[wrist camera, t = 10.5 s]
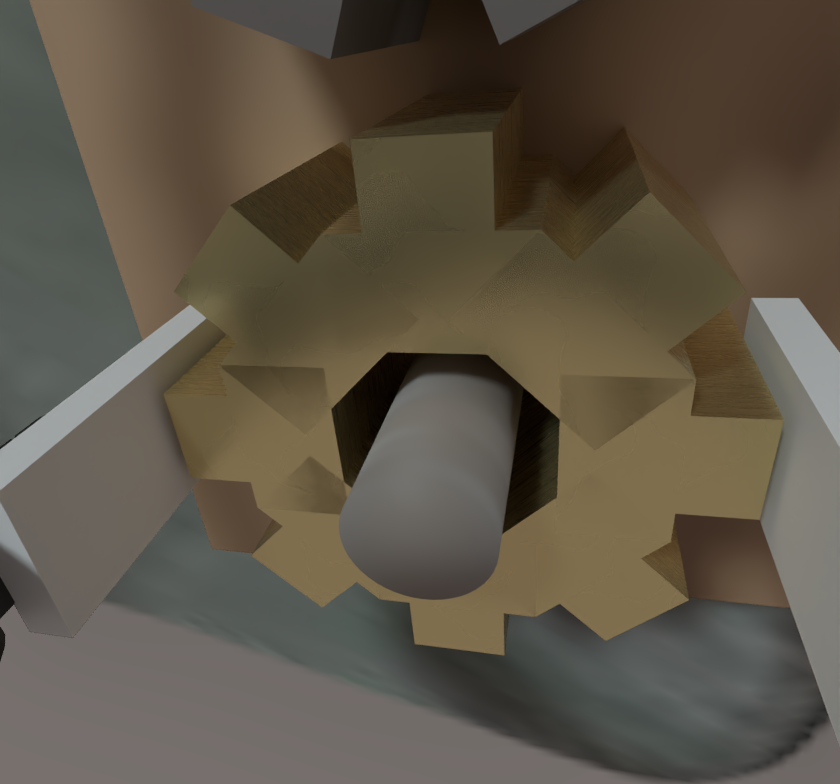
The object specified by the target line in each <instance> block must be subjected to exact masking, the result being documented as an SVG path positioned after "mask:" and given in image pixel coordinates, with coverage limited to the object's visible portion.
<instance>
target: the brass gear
mask: <svg viewBox="0 0 840 784" xmlns="http://www.w3.org/2000/svg"><path fill="white" fill-rule="evenodd" d="M350 146H351V149H350V148H349V147H348V146H347V145H345V144H344V143H343V142H340V143H338V144H336V145H335V146H333V147H331V148H329V149H328V150H326V151H324V152H322V153H321V154H319V155H317V156H315V157H314V158H312V159H310V160H308V161H307V162H305V163H303V164H301V165H299V166H298V167H296V168H294V169H292V170H291V171H289V172H287V173H285V174H284V175H282V176H280V177H278V178H277V179H275V180H273V181H271V182H270V183H268V184H266V185H264V186H263V187H261V188H259V189H257V190H256V191H254V192H252V193H250V194H249V195H247V196H245V197H243V198H242V199H240V200H238V201H236V202H234V203H233V204H231V205H230V206H229V207H228V209H227V210H226V212H225V213H224V215H223V216H222V218H221V219H220V221H219V222H218V224H217V226H216V227H215V229H214V230H213V232H212V233H211V235H210V236H209V238H208V239H207V241H206V242H205V244H204V245H203V247H202V249H201V250H200V252H199V253H198V255H197V256H196V258H195V259H194V261H193V262H192V264H191V265H190V267H189V268H188V270H187V272H186V273H185V275H184V276H183V278H182V279H181V281H180V282H179V284H178V285H177V287H176V288H175V290H174V292H175V293H176V294H177V295H178V296H180V297H181V298H182V299H183V300H185V301H186V302H187V303H188V304H190V305H191V306H192V307H193V308H195V309H196V310H197V311H198V312H199V313H201V314H202V315H203V316H204V317H206V318H207V319H208V320H209V321H211V322H212V323H213V324H214V325H216V326H217V327H218V328H219V329H221V330H222V331H223V332H224V333H225V334H227V335H226V336H225V337H224V338H223V339H222V340H221V341H220V342H219V343H218V344H217V345H215V346H214V347H213V348H212V349H211V350H210V351H209V352H208V353H207V354H206V355H205V356H204V357H203V358H202V359H200V360H199V361H198V362H197V363H196V364H195V365H194V366H193V367H192V368H191V369H190V370H189V371H188V372H187V373H185V374H184V375H183V376H182V377H181V378H180V379H179V380H178V381H177V382H176V383H175V384H174V385H173V386H172V387H170V388H169V389H168V390H167V391H166V392H165V393H164V397H165V400H166V403H167V406H168V409H169V412H170V415H171V418H172V421H173V424H174V427H175V430H176V433H177V437H178V440H179V443H180V446H181V449H182V452H183V455H184V458H185V461H186V464H187V467H188V470H189V473H190V476H191V478H200V479H213V480H227V481H240V482H251V485H252V489H253V492H254V496H255V500H256V503H257V507H258V508H259V509H260V510H262V511H263V512H264V513H266V514H267V515H268V516H270V517H271V518H272V521H271V523H270V524H269V526H268V528H267V530H266V531H265V533H264V535H263V536H262V538H261V540H260V541H259V543H258V545H257V546H256V548H255V550H254V551H253V553H252V555H251V556H252V557H254V558H255V559H257V560H258V561H259V562H261V563H262V564H263V565H265V566H266V567H268V568H269V569H270V570H272V571H273V572H274V573H276V574H277V575H278V576H280V577H281V578H283V579H284V580H285V581H287V582H288V583H289V584H291V585H292V586H294V587H295V588H296V589H298V590H299V591H300V592H302V593H303V594H305V595H306V596H307V597H309V598H310V599H311V600H313V601H314V602H315V603H317V604H318V605H320V606H321V607H323V606H325V605H326V604H328V603H329V602H330V601H332V600H333V599H334V598H336V597H337V596H338V595H340V594H341V593H342V592H344V591H345V590H346V589H348V588H349V587H350V586H352V585H353V584H354V583H356V582H358V583H359V584H360V585H362V586H363V587H364V588H366V589H367V590H368V591H370V592H371V593H372V594H374V595H375V596H376V597H378V598H379V599H380V600H390V601H399V602H408V603H410V610H411V618H412V625H413V633H414V641H415V644H419V645H427V646H434V647H442V648H450V649H458V650H466V651H474V652H482V653H489V654H497V655H505V646H506V638H507V629H508V620H509V614H514V615H523V616H532V617H536V616H538V615H540V614H542V613H544V612H545V611H547V610H549V609H551V608H553V607H554V606H556V605H558V604H561V605H562V606H563V607H564V608H566V609H567V610H568V611H569V612H571V613H572V614H573V615H574V616H576V617H577V618H578V619H579V620H581V621H582V622H583V623H584V624H585V625H587V626H588V627H589V628H590V629H592V630H593V631H594V632H595V633H597V634H598V635H599V636H600V637H602V638H603V639H604V640H605V641H607V640H609V639H611V638H613V637H615V636H617V635H619V634H621V633H623V632H625V631H627V630H629V629H631V628H633V627H635V626H637V625H639V624H641V623H643V622H645V621H647V620H649V619H651V618H654V617H656V616H658V615H660V614H662V613H664V612H666V611H668V610H670V609H672V608H674V607H676V606H678V605H680V604H682V603H684V602H686V601H688V600H689V596H688V591H687V586H686V580H685V575H684V570H683V564H682V559H681V553H680V548H679V543H678V537H677V532H676V527H675V521H674V518H675V514H687V515H700V516H714V517H728V518H741V519H755V520H760V516H761V512H762V508H763V504H764V500H765V496H766V492H767V488H768V484H769V480H770V476H771V472H772V468H773V464H774V459H775V455H776V451H777V447H778V443H779V439H780V435H781V431H782V427H783V423H784V419H783V417H782V415H781V413H780V411H779V409H778V407H777V405H776V403H775V400H774V398H773V396H772V394H771V392H770V390H769V388H768V386H767V384H766V382H765V380H764V378H763V376H762V374H761V372H760V370H759V368H758V366H757V364H756V362H755V360H754V358H753V356H752V354H751V352H750V350H749V348H748V346H747V344H746V342H745V340H744V338H743V336H742V334H741V332H740V330H739V328H738V326H737V324H736V322H735V320H734V318H733V316H732V314H731V312H730V310H729V308H728V306H729V305H731V304H732V303H733V302H735V301H736V300H737V299H739V298H740V297H741V296H743V295H744V294H746V293H747V291H746V290H745V288H744V286H743V285H742V283H741V281H740V280H739V278H738V276H737V275H736V273H735V271H734V269H733V268H732V266H731V264H730V263H729V261H728V259H727V258H726V256H725V254H724V253H723V251H722V249H721V247H720V246H719V244H718V242H717V241H716V239H715V237H714V236H713V234H712V232H711V231H710V229H709V227H708V225H707V224H706V222H705V220H704V219H703V217H702V215H701V214H700V212H699V210H698V209H697V207H696V205H695V203H694V202H693V200H692V198H691V197H690V195H689V194H688V193H687V192H686V190H685V189H684V188H683V187H682V186H681V185H680V184H679V183H678V182H677V181H676V180H675V179H674V178H673V177H672V176H671V175H670V174H669V173H668V172H667V170H666V169H665V168H664V167H663V166H662V165H661V164H660V163H659V162H658V161H657V160H656V159H655V158H654V157H653V156H652V155H651V154H650V153H649V152H648V151H647V149H646V148H645V147H644V146H643V145H642V144H641V143H640V142H639V141H638V140H637V139H636V138H635V137H634V136H633V135H632V134H631V133H630V132H629V131H628V129H627V128H626V127H625V126H624V127H623V128H622V129H621V130H620V131H619V132H618V133H617V134H616V135H615V136H614V137H613V138H612V139H611V140H610V141H609V142H608V143H607V144H606V145H605V146H604V147H603V148H602V149H601V150H600V151H599V152H598V153H597V154H596V155H595V156H594V157H593V158H592V159H591V160H590V161H589V162H588V163H587V164H586V165H585V166H584V167H583V168H582V169H581V170H580V171H579V172H578V173H577V174H576V175H574V174H573V173H572V172H571V171H570V170H569V169H568V168H567V167H566V166H565V165H564V164H563V163H562V162H561V160H560V159H559V158H558V157H557V156H556V155H555V154H539V155H523V87H521V88H507V89H492V90H477V91H463V92H448V93H434V94H427V95H425V96H424V97H422V98H420V99H418V100H417V101H415V102H413V103H411V104H410V105H408V106H406V107H405V108H403V109H401V110H399V111H398V112H396V113H394V114H392V115H391V116H389V117H387V118H386V119H384V120H382V121H380V122H379V123H377V124H375V125H374V126H372V127H370V128H368V129H367V130H365V131H363V132H361V133H360V134H358V135H356V136H355V137H353V138H351V139H350ZM411 353H443V354H486V355H488V356H489V357H490V358H491V359H492V360H494V361H495V362H496V363H497V364H498V365H499V366H500V367H501V368H503V369H504V370H505V371H506V372H507V373H508V374H509V375H510V376H512V377H513V378H514V379H515V380H516V381H517V382H518V383H519V384H521V385H522V386H523V387H524V389H523V396H522V403H521V410H520V417H519V423H518V430H517V437H516V444H515V450H514V457H513V464H512V471H511V477H510V484H509V491H508V498H507V504H506V511H505V518H504V525H503V531H502V538H501V545H500V552H499V558H498V562H497V566H496V568H495V570H494V572H493V574H492V575H491V576H490V578H489V579H488V580H487V581H486V582H485V583H484V584H483V585H482V586H480V587H479V588H478V589H476V590H474V591H472V592H471V593H468V594H466V595H463V596H460V597H456V598H452V599H444V600H427V599H419V598H413V597H409V596H405V595H402V594H399V593H396V592H393V591H391V590H389V589H387V588H385V587H383V586H381V585H379V584H377V583H376V582H374V581H373V580H372V579H370V578H369V577H367V576H366V575H365V574H364V573H363V572H361V570H360V569H359V568H358V567H357V566H356V565H355V564H354V563H353V562H352V560H351V559H350V558H349V556H348V554H347V553H346V551H345V549H344V547H343V544H342V542H341V538H340V534H339V518H340V514H341V511H342V509H343V506H344V504H345V502H346V500H347V498H348V496H349V494H350V491H351V489H352V487H353V485H354V483H355V481H356V479H357V477H358V475H359V472H360V470H361V468H362V466H363V464H364V462H365V460H366V458H367V456H368V453H369V451H370V449H371V447H372V445H373V443H374V441H375V439H376V437H377V435H378V432H379V430H380V428H381V426H382V424H383V422H384V420H385V418H386V416H387V413H388V411H389V409H390V407H391V405H392V403H393V401H394V399H395V397H396V395H397V392H398V390H399V388H400V386H401V384H402V382H403V380H404V378H405V376H406V373H407V371H408V369H409V367H410V365H411V363H412V361H413V359H414V356H413V355H412V354H411Z"/></svg>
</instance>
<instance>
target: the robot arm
mask: <svg viewBox="0 0 840 784" xmlns="http://www.w3.org/2000/svg"><path fill="white" fill-rule="evenodd" d="M226 335H227V334H225V333H224V332H223V331H222V330H221V329H219V328H218V327H217V326H216V325H214V324H213V323H212V322H211V321H209V320H208V319H207V318H206V317H204V316H203V315H202V314H201V313H199V312H198V311H197V310H196V309H195V308H193V307H192V306H191V305H189V306H188V307H186V308H185V309H184V310H182V311H181V312H180V313H178V314H177V315H176V316H174V317H173V318H172V319H170V320H169V321H168V322H167V323H165V324H164V325H163V326H161V327H160V328H159V329H157V330H156V331H155V332H153V333H152V334H151V335H150V336H148V337H147V338H146V339H144V340H143V341H142V342H140V343H139V344H138V345H136V346H135V347H134V348H132V349H131V350H130V351H129V352H127V353H126V354H125V355H123V356H122V357H121V358H119V359H118V360H117V361H115V362H114V363H113V364H111V365H110V366H109V367H108V368H106V369H105V370H104V371H102V372H101V373H100V374H98V375H97V376H96V377H94V378H93V379H92V380H91V381H89V382H88V383H87V384H85V385H84V386H83V387H81V388H80V389H79V390H77V391H76V392H75V393H73V394H72V395H71V396H70V397H68V398H67V399H66V400H64V401H63V402H62V403H60V404H59V405H58V406H56V407H55V408H54V409H52V410H51V411H50V412H49V413H47V414H46V415H44V416H42V417H40V418H38V419H37V420H35V421H34V422H33V423H31V424H30V425H29V426H27V427H26V428H25V429H23V430H22V431H21V432H19V433H18V434H17V435H15V438H14V439H10V440H9V441H8V442H6V443H5V444H4V445H2V446H1V447H0V618H1V617H2V616H3V615H4V614H5V613H6V612H7V611H8V610H9V609H10V608H11V607H12V606H13V605H15V607H16V609H17V610H18V612H19V614H20V615H21V617H22V619H23V621H24V622H25V624H26V626H27V628H28V629H29V631H30V632H34V633H42V634H49V635H55V636H63V637H69V638H73V637H74V636H75V635H76V633H77V632H78V631H79V629H80V628H81V627H82V626H83V624H84V623H85V622H86V621H87V620H88V618H89V617H90V616H91V615H92V613H93V612H94V611H95V610H96V608H97V607H98V606H99V605H100V604H101V602H102V601H103V600H104V599H105V597H106V596H107V595H108V594H109V592H110V591H111V590H112V589H113V587H114V586H115V585H116V584H117V582H118V581H119V580H120V579H121V577H122V576H123V575H124V574H125V572H126V571H127V570H128V569H129V567H130V566H131V565H132V564H133V562H134V561H135V560H136V559H137V557H138V556H139V555H140V554H141V553H142V551H143V550H144V549H145V548H146V546H147V545H148V544H149V543H150V541H151V540H152V539H153V538H154V536H155V535H156V534H157V533H158V531H159V530H160V529H161V528H162V526H163V525H164V524H165V523H166V521H167V520H168V519H169V518H170V516H171V515H172V514H173V513H174V511H175V510H176V509H177V508H178V506H179V505H180V504H181V503H182V501H183V500H184V499H185V498H186V497H187V495H188V494H189V493H190V492H191V490H192V489H193V488H194V487H195V485H196V484H197V483H198V482H199V480H200V478H191V476H190V473H189V470H188V467H187V464H186V461H185V458H184V455H183V452H182V449H181V446H180V443H179V440H178V437H177V433H176V430H175V427H174V424H173V421H172V418H171V415H170V412H169V409H168V406H167V403H166V400H165V397H164V393H165V392H166V391H167V390H168V389H169V388H170V387H172V386H173V385H174V384H175V383H176V382H177V381H178V380H179V379H180V378H181V377H182V376H183V375H184V374H185V373H187V372H188V371H189V370H190V369H191V368H192V367H193V366H194V365H195V364H196V363H197V362H198V361H199V360H200V359H202V358H203V357H204V356H205V355H206V354H207V353H208V352H209V351H210V350H211V349H212V348H213V347H214V346H215V345H217V344H218V343H219V342H220V341H221V340H222V339H223V338H224V337H225V336H226ZM744 340H745V342H746V344H747V346H748V348H749V350H750V352H751V354H752V356H753V358H754V360H755V362H756V364H757V366H758V368H759V370H760V372H761V374H762V376H763V378H764V380H765V382H766V384H767V386H768V388H769V390H770V392H771V394H772V396H773V398H774V400H775V403H776V405H777V407H778V409H779V411H780V413H781V415H782V417H783V419H784V423H783V427H782V431H781V435H780V439H779V443H778V447H777V451H776V455H775V459H774V464H773V468H772V472H771V476H770V480H769V484H768V488H767V492H766V496H765V500H764V504H763V508H762V512H761V516H760V522H761V525H762V528H763V531H764V534H765V537H766V539H767V542H768V545H769V548H770V551H771V554H772V557H773V559H774V562H775V565H776V568H777V571H778V574H779V576H780V579H781V582H782V585H783V588H784V591H785V593H786V596H787V599H788V602H789V605H790V608H791V610H792V613H793V616H794V619H795V622H796V625H797V628H798V630H799V633H800V636H801V639H802V642H803V645H804V647H805V650H806V653H807V656H808V659H809V662H810V664H811V667H812V670H813V673H814V676H815V679H816V682H817V684H818V687H819V690H820V693H821V696H822V699H823V701H824V704H825V707H826V710H827V713H828V716H829V718H830V721H831V724H832V727H833V730H834V733H835V735H836V738H837V741H838V744H839V747H840V352H839V351H838V350H837V348H836V347H835V346H834V345H833V343H832V342H831V341H830V339H829V338H828V337H827V335H826V334H825V333H824V331H823V330H822V329H821V327H820V326H819V325H818V323H817V322H816V321H815V319H814V318H813V317H812V315H811V314H810V313H809V311H808V310H807V309H806V307H805V306H804V305H803V303H802V302H801V301H800V299H799V298H751V302H750V307H749V312H748V317H747V322H746V328H745V333H744ZM4 647H5V634H4V632H3V630H2V629H1V627H0V661H1V657H2V654H3V651H4Z"/></svg>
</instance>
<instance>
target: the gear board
mask: <svg viewBox="0 0 840 784" xmlns="http://www.w3.org/2000/svg"><path fill="white" fill-rule="evenodd" d="M29 1H30V4H31V7H32V10H33V13H34V16H35V19H36V22H37V25H38V28H39V31H40V34H41V37H42V40H43V43H44V46H45V49H46V52H47V55H48V58H49V61H50V64H51V67H52V70H53V73H54V76H55V79H56V82H57V85H58V88H59V91H60V94H61V97H62V100H63V103H64V106H65V109H66V112H67V115H68V118H69V121H70V124H71V127H72V130H73V133H74V136H75V139H76V142H77V145H78V148H79V151H80V154H81V157H82V160H83V163H84V166H85V169H86V172H87V175H88V178H89V181H90V184H91V187H92V190H93V193H94V196H95V199H96V202H97V205H98V208H99V211H100V214H101V217H102V220H103V223H104V226H105V229H106V232H107V235H108V238H109V241H110V244H111V247H112V250H113V253H114V256H115V259H116V262H117V265H118V268H119V271H120V274H121V277H122V280H123V283H124V286H125V289H126V292H127V295H128V298H129V301H130V304H131V307H132V310H133V313H134V316H135V319H136V322H137V325H138V328H139V331H140V334H141V337H142V340H144V339H146V338H147V337H148V336H150V335H151V334H152V333H153V332H155V331H156V330H157V329H159V328H160V327H161V326H163V325H164V324H165V323H167V322H168V321H169V320H170V319H172V318H173V317H174V316H176V315H177V314H178V313H180V312H181V311H182V310H184V309H185V308H186V307H188V306H189V305H190V304H188V303H187V302H186V301H185V300H183V299H182V298H181V297H180V296H178V295H177V294H176V293H175V292H174V290H175V288H176V287H177V285H178V284H179V282H180V281H181V279H182V278H183V276H184V275H185V273H186V272H187V270H188V268H189V267H190V265H191V264H192V262H193V261H194V259H195V258H196V256H197V255H198V253H199V252H200V250H201V249H202V247H203V245H204V244H205V242H206V241H207V239H208V238H209V236H210V235H211V233H212V232H213V230H214V229H215V227H216V226H217V224H218V222H219V221H220V219H221V218H222V216H223V215H224V213H225V212H226V210H227V209H228V207H229V206H230V205H231V204H233V203H234V202H236V201H238V200H240V199H242V198H243V197H245V196H247V195H249V194H250V193H252V192H254V191H256V190H257V189H259V188H261V187H263V186H264V185H266V184H268V183H270V182H271V181H273V180H275V179H277V178H278V177H280V176H282V175H284V174H285V173H287V172H289V171H291V170H292V169H294V168H296V167H298V166H299V165H301V164H303V163H305V162H307V161H308V160H310V159H312V158H314V157H315V156H317V155H319V154H321V153H322V152H324V151H326V150H328V149H329V148H331V147H333V146H335V145H336V144H338V143H340V142H343V143H344V144H345V145H347V146H348V147H349V148H350V149H351V146H350V139H351V138H353V137H355V136H356V135H358V134H360V133H361V132H363V131H365V130H367V129H368V128H370V127H372V126H374V125H375V124H377V123H379V122H380V121H382V120H384V119H386V118H387V117H389V116H391V115H392V114H394V113H396V112H398V111H399V110H401V109H403V108H405V107H406V106H408V105H410V104H411V103H413V102H415V101H417V100H418V99H420V98H422V97H424V96H425V95H427V94H434V93H448V92H463V91H477V90H492V89H507V88H521V87H523V155H539V154H555V155H556V156H557V157H558V158H559V159H560V160H561V162H562V163H563V164H564V165H565V166H566V167H567V168H568V169H569V170H570V171H571V172H572V173H573V174H574V175H576V174H577V173H578V172H579V171H580V170H581V169H582V168H583V167H584V166H585V165H586V164H587V163H588V162H589V161H590V160H591V159H592V158H593V157H594V156H595V155H596V154H597V153H598V152H599V151H600V150H601V149H602V148H603V147H604V146H605V145H606V144H607V143H608V142H609V141H610V140H611V139H612V138H613V137H614V136H615V135H616V134H617V133H618V132H619V131H620V130H621V129H622V128H623V127H624V126H625V127H626V128H627V129H628V131H629V132H630V133H631V134H632V135H633V136H634V137H635V138H636V139H637V140H638V141H639V142H640V143H641V144H642V145H643V146H644V147H645V148H646V149H647V151H648V152H649V153H650V154H651V155H652V156H653V157H654V158H655V159H656V160H657V161H658V162H659V163H660V164H661V165H662V166H663V167H664V168H665V169H666V170H667V172H668V173H669V174H670V175H671V176H672V177H673V178H674V179H675V180H676V181H677V182H678V183H679V184H680V185H681V186H682V187H683V188H684V189H685V190H686V192H687V193H688V194H689V195H690V197H691V198H692V200H693V202H694V203H695V205H696V207H697V209H698V210H699V212H700V214H701V215H702V217H703V219H704V220H705V222H706V224H707V225H708V227H709V229H710V231H711V232H712V234H713V236H714V237H715V239H716V241H717V242H718V244H719V246H720V247H721V249H722V251H723V253H724V254H725V256H726V258H727V259H728V261H729V263H730V264H731V266H732V268H733V269H734V271H735V273H736V275H737V276H738V278H739V280H740V281H741V283H742V285H743V286H744V288H745V290H746V291H747V293H746V294H744V295H743V296H741V297H740V298H739V299H737V300H736V301H735V302H733V303H732V304H731V305H729V306H728V308H729V310H730V312H731V314H732V316H733V318H734V320H735V322H736V324H737V326H738V328H739V330H740V332H741V334H742V336H743V338H744V333H745V328H746V322H747V317H748V312H749V307H750V302H751V298H799V299H800V301H801V302H802V303H803V305H804V306H805V307H806V309H807V310H808V311H809V313H810V314H811V315H812V317H813V318H814V319H815V321H816V322H817V323H818V325H819V326H820V327H821V329H822V330H823V331H824V333H825V334H826V335H827V337H828V338H829V339H830V341H831V342H832V343H833V345H834V346H835V347H836V348H837V350H838V351H839V352H840V0H29ZM411 354H412V355H413V356H414V359H413V361H412V363H411V365H410V367H409V369H408V371H407V373H406V376H405V378H404V380H403V382H402V384H401V386H400V388H399V390H398V392H397V395H396V397H395V399H394V401H393V403H392V405H391V407H390V409H389V411H388V413H387V416H386V418H385V420H384V422H383V424H382V426H381V428H380V430H379V432H378V435H377V437H376V439H375V441H374V443H373V445H372V447H371V449H370V451H369V453H368V456H367V458H366V460H365V462H364V464H363V466H362V468H361V470H360V472H359V475H358V477H357V479H356V481H355V483H354V485H353V487H352V489H351V491H350V494H349V496H348V498H347V500H346V502H345V504H344V506H343V509H342V511H341V514H340V518H339V534H340V538H341V542H342V544H343V547H344V549H345V551H346V553H347V554H348V556H349V558H350V559H351V560H352V562H353V563H354V564H355V565H356V566H357V567H358V568H359V569H360V570H361V572H363V573H364V574H365V575H366V576H367V577H369V578H370V579H372V580H373V581H374V582H376V583H377V584H379V585H381V586H383V587H385V588H387V589H389V590H391V591H393V592H396V593H399V594H402V595H405V596H409V597H413V598H419V599H427V600H444V599H452V598H456V597H460V596H463V595H466V594H468V593H471V592H472V591H474V590H476V589H478V588H479V587H480V586H482V585H483V584H484V583H485V582H486V581H487V580H488V579H489V578H490V576H491V575H492V574H493V572H494V570H495V568H496V566H497V562H498V558H499V552H500V545H501V538H502V531H503V525H504V518H505V511H506V504H507V498H508V491H509V484H510V477H511V471H512V464H513V457H514V450H515V444H516V437H517V430H518V423H519V417H520V410H521V403H522V396H523V389H524V387H523V386H522V385H521V384H519V383H518V382H517V381H516V380H515V379H514V378H513V377H512V376H510V375H509V374H508V373H507V372H506V371H505V370H504V369H503V368H501V367H500V366H499V365H498V364H497V363H496V362H495V361H494V360H492V359H491V358H490V357H489V356H488V355H486V354H443V353H411ZM192 490H193V493H194V496H195V499H196V502H197V505H198V508H199V512H200V515H201V518H202V521H203V524H204V527H205V530H206V533H207V536H208V539H209V542H210V545H211V548H212V549H216V550H226V551H236V552H245V553H253V551H254V550H255V548H256V546H257V545H258V543H259V541H260V540H261V538H262V536H263V535H264V533H265V531H266V530H267V528H268V526H269V524H270V523H271V521H272V518H271V517H270V516H268V515H267V514H266V513H264V512H263V511H262V510H260V509H259V508H258V507H257V503H256V500H255V496H254V492H253V489H252V485H251V482H240V481H227V480H213V479H200V480H199V482H198V483H197V484H196V485H195V487H194V488H193V489H192ZM674 521H675V527H676V532H677V537H678V543H679V548H680V553H681V559H682V564H683V570H684V575H685V580H686V586H687V591H688V596H689V598H697V599H707V600H716V601H726V602H736V603H746V604H756V605H766V606H775V607H785V608H790V605H789V602H788V599H787V596H786V593H785V591H784V588H783V585H782V582H781V579H780V576H779V574H778V571H777V568H776V565H775V562H774V559H773V557H772V554H771V551H770V548H769V545H768V542H767V539H766V537H765V534H764V531H763V528H762V525H761V522H760V520H755V519H741V518H728V517H714V516H700V515H687V514H675V518H674Z"/></svg>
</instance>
